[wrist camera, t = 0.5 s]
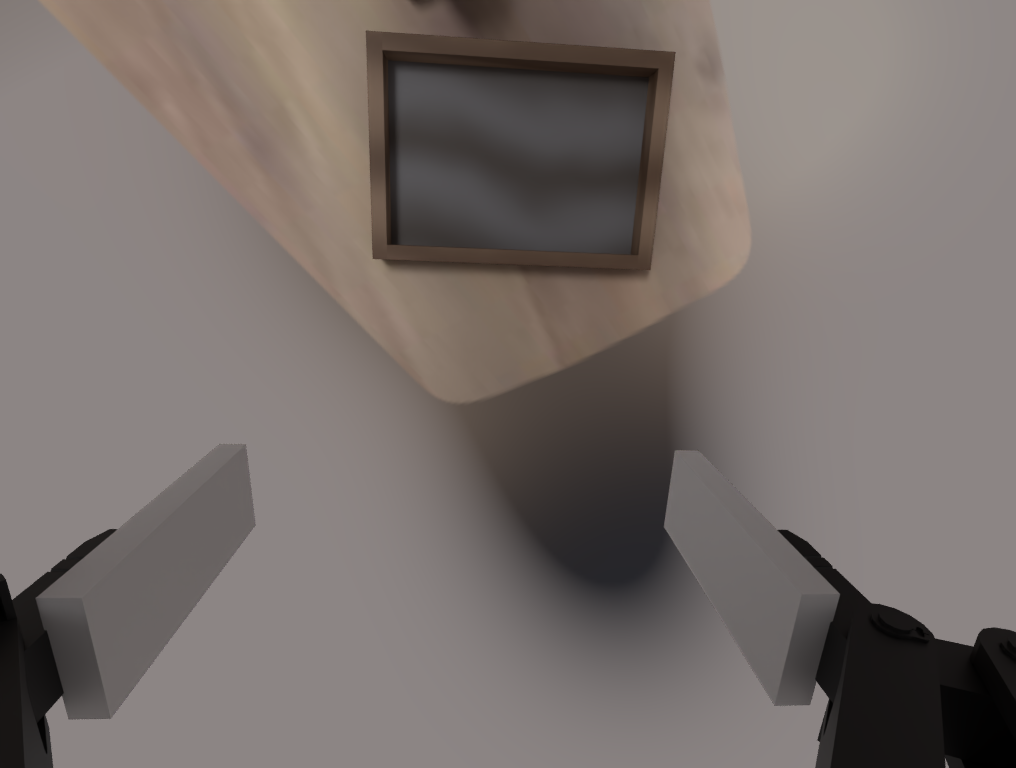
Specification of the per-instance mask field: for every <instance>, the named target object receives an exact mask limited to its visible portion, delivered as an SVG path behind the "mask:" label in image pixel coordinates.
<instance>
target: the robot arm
mask: <svg viewBox="0 0 1016 768" xmlns="http://www.w3.org/2000/svg"><path fill="white" fill-rule="evenodd" d="M254 527H255V516H254V508H253V500H252V491H251V483H250V474H249V466H248V458H247V450H246V445H245V444H219V445H218V446H217V447H216V448H214V449H213V450H212V451H211V452H209V453H208V454H207V455H206V456H205V457H204V458H202V459H201V460H200V461H199V462H198V463H196V464H195V465H194V466H193V467H192V468H190V469H189V470H188V471H187V472H186V473H184V474H183V475H182V476H181V477H180V478H178V479H177V480H176V481H175V482H174V483H173V484H171V485H170V486H169V487H168V488H166V489H165V490H164V491H163V492H162V493H160V495H158V496H157V497H156V498H155V499H153V500H152V501H151V502H150V503H149V504H147V505H146V506H145V507H144V508H143V509H141V510H140V511H139V512H138V513H137V514H135V515H134V516H133V517H132V518H131V519H130V520H128V521H127V522H126V523H125V524H123V525H122V526H121V527H120V528H119V529H109V530H107V531H105V532H104V533H102V534H99V535H97V536H96V537H94V538H92V539H90V540H88V541H86V542H84V543H83V544H82V545H80V546H79V547H78V548H77V549H76V550H74V551H73V552H72V553H70V554H69V555H68V556H67V558H66V560H65V559H63V560H62V561H60V562H59V563H58V564H57V565H55V566H54V567H53V568H52V569H51V572H47V573H46V574H44V575H43V576H42V577H40V578H39V579H38V580H37V581H35V582H34V583H33V584H32V585H31V586H29V587H28V588H27V589H25V590H24V591H23V592H22V593H20V594H19V595H18V596H17V597H16V598H14V599H13V600H12V599H11V595H10V592H9V589H8V585H7V582H6V579H5V578H4V576H3V575H2V574H0V768H53V763H52V752H51V742H50V732H49V726H48V723H47V719H46V716H45V714H46V713H47V711H48V710H49V709H50V708H51V707H52V706H53V705H54V703H55V702H56V701H57V700H58V699H59V698H60V697H61V696H62V697H63V700H64V704H65V708H66V711H67V715H68V719H111V718H112V717H113V715H114V714H115V713H116V711H117V710H118V709H119V707H120V706H121V705H122V703H123V702H124V701H125V699H126V698H127V697H128V695H129V694H130V692H131V691H132V690H133V688H134V687H135V686H136V684H137V683H138V682H139V680H140V679H141V678H142V676H143V675H144V674H145V672H146V671H147V670H148V668H149V667H150V666H151V664H152V663H153V662H154V660H155V659H156V658H157V656H158V655H159V654H160V652H161V651H162V650H163V648H164V647H165V645H166V644H167V643H168V642H169V640H170V639H171V638H172V636H173V635H174V634H175V632H176V631H177V630H178V628H179V627H180V626H181V624H182V623H183V622H184V620H185V619H186V618H187V616H188V615H189V614H190V612H191V611H192V610H193V608H194V607H195V606H196V604H197V603H198V602H199V600H200V599H201V597H202V596H203V595H204V593H205V592H206V591H207V590H208V588H209V587H210V585H211V584H212V583H213V581H214V580H215V579H216V577H217V576H218V575H219V573H220V572H221V571H222V569H223V568H224V567H225V565H226V564H227V563H228V561H229V560H230V559H231V557H232V556H233V555H234V553H235V552H236V551H237V549H238V548H239V547H240V545H241V544H242V543H243V541H244V540H245V539H246V537H247V536H248V534H249V533H250V532H251V530H252V529H253V528H254ZM664 528H665V529H666V531H667V533H668V534H669V536H670V537H671V539H672V541H673V542H674V544H675V546H676V547H677V549H678V550H679V552H680V554H681V555H682V557H683V558H684V560H685V562H686V563H687V565H688V566H689V568H690V570H691V571H692V573H693V575H694V576H695V578H696V580H697V581H698V583H699V584H700V586H701V588H702V589H703V591H704V592H705V594H706V596H707V597H708V599H709V600H710V602H711V604H712V605H713V607H714V609H715V610H716V612H717V613H718V615H719V617H720V618H721V620H722V622H723V623H724V625H725V626H726V628H727V629H728V631H729V633H730V635H731V636H732V638H733V639H734V641H735V643H736V644H737V646H738V647H739V649H740V650H741V652H742V654H743V656H744V657H745V659H746V660H747V662H748V664H749V665H750V667H751V668H752V670H753V672H754V673H755V675H756V677H757V678H758V680H759V681H760V683H761V685H762V686H763V688H764V690H765V691H766V693H767V694H768V696H769V698H770V699H771V701H772V702H773V704H774V705H775V706H782V705H783V706H784V705H785V706H786V705H810V703H811V699H812V696H813V692H814V688H815V685H816V681H817V682H818V684H819V685H820V687H821V688H822V689H823V690H824V692H825V693H826V695H827V696H828V697H829V701H828V705H827V708H826V711H825V715H824V718H823V722H822V726H821V729H820V733H819V736H818V741H819V742H820V745H819V750H818V756H817V761H816V767H815V768H945V758H946V761H947V763H948V766H949V768H1016V632H1014V631H1011V630H1006V629H1000V628H986V629H983V630H982V631H981V632H980V633H979V634H978V637H977V640H976V642H975V645H974V647H972V646H968V645H963V644H959V643H954V642H949V641H945V640H939V639H935V638H934V635H933V634H932V633H931V632H930V631H929V630H928V629H927V628H926V627H925V626H924V625H923V624H922V623H921V622H919V621H917V620H916V619H915V618H913V617H912V616H910V615H908V614H906V613H904V612H901V611H899V610H897V609H895V608H892V607H888V606H884V605H881V604H872V603H870V602H869V601H868V600H867V599H866V598H865V597H864V596H863V595H862V594H861V593H860V592H859V591H858V590H857V589H856V588H855V587H854V586H853V585H851V583H849V581H847V580H846V579H845V578H844V577H843V576H842V575H841V574H840V573H839V572H838V571H837V570H836V569H833V568H832V565H831V564H830V563H829V562H828V561H827V560H825V558H821V555H820V554H819V553H818V552H817V551H816V550H815V549H814V548H813V547H812V546H811V545H810V544H809V543H808V542H807V541H805V540H803V539H802V538H800V537H798V536H797V535H795V534H793V533H791V532H790V531H788V530H776V529H775V528H774V526H773V525H771V523H770V522H769V521H767V519H766V518H765V517H763V515H762V514H761V513H760V512H758V510H757V509H756V508H755V507H754V506H753V505H752V504H751V503H750V502H749V501H748V500H747V499H746V498H745V497H744V496H743V495H742V494H741V493H740V492H739V491H738V490H737V489H736V488H735V487H734V486H733V485H732V484H731V483H730V482H729V481H728V480H727V479H726V478H725V477H724V476H723V475H722V474H721V473H720V472H719V471H718V470H717V469H716V468H715V467H714V466H713V465H712V464H711V463H710V461H709V460H708V459H707V458H705V456H704V455H702V453H701V452H700V451H697V450H695V451H693V450H675V454H674V461H673V468H672V475H671V481H670V488H669V495H668V502H667V509H666V516H665V523H664Z"/></svg>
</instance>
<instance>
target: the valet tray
mask: <svg viewBox="0 0 1016 768" xmlns="http://www.w3.org/2000/svg"><path fill="white" fill-rule="evenodd" d="M366 47H367V80H368V114H369V148H370V182H371V216H372V250H373V259H389V260H414V261H438V262H463V263H488V264H512V265H537V266H562V267H586V268H611V269H636V270H650V268H651V259H652V251H653V242H654V233H655V225H656V216H657V207H658V199H659V190H660V182H661V173H662V164H663V156H664V147H665V138H666V130H667V121H668V113H669V104H670V95H671V87H672V78H673V69H674V61H675V52H666V51H651V50H637V49H623V48H608V47H594V46H579V45H565V44H550V43H536V42H521V41H507V40H492V39H478V38H463V37H449V36H434V35H420V34H405V33H391V32H376V31H366Z"/></svg>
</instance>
